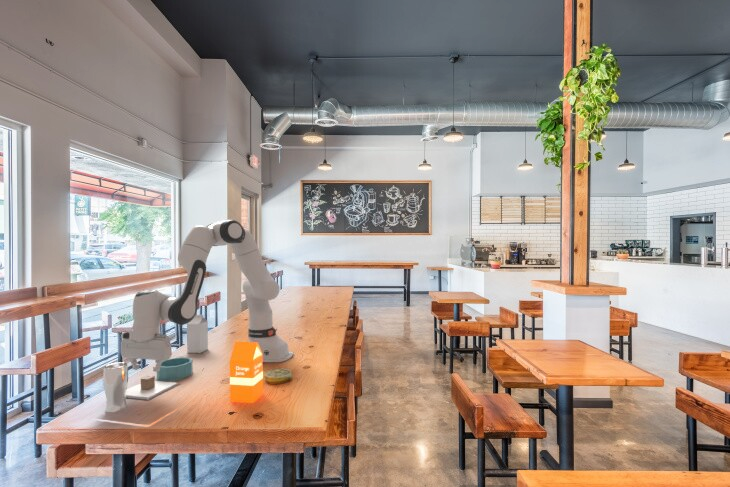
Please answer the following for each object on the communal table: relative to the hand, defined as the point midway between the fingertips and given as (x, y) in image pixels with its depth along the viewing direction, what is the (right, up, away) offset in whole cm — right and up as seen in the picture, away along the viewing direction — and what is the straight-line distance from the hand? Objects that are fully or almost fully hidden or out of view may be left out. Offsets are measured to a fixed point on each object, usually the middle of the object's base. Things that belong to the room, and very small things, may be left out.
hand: (146, 370), depth 137 cm
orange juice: (+40, -8, -6) cm, 41 cm away
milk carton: (-5, -9, +53) cm, 54 cm away
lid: (0, -8, 0) cm, 8 cm away
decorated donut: (+47, -8, +10) cm, 49 cm away
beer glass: (-1, -8, -15) cm, 17 cm away
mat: (+1, -8, 0) cm, 8 cm away
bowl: (+2, -8, +16) cm, 18 cm away
